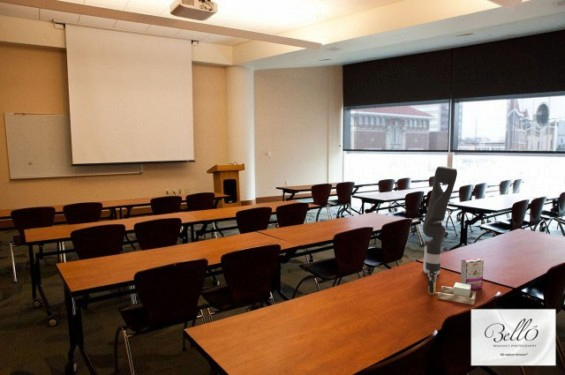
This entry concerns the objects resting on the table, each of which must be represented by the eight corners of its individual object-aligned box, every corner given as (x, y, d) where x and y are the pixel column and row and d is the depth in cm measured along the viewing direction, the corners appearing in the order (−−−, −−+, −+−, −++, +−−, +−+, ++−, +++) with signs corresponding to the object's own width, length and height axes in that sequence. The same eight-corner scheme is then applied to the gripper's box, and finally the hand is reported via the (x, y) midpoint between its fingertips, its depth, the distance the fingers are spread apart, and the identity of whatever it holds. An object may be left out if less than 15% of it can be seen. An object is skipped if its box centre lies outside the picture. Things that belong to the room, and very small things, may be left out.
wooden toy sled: (437, 298, 215) (438, 292, 215) (441, 290, 225) (441, 285, 224) (473, 304, 207) (473, 299, 206) (475, 297, 216) (476, 291, 216)
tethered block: (427, 294, 220) (427, 282, 219) (429, 290, 226) (430, 278, 225) (468, 302, 210) (469, 289, 209) (470, 297, 216) (470, 284, 215)
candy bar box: (476, 285, 233) (477, 257, 231) (482, 288, 228) (484, 260, 226) (459, 287, 230) (461, 259, 228) (465, 290, 225) (467, 262, 223)
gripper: (438, 265, 212) (436, 297, 214) (442, 258, 224) (441, 288, 226) (423, 263, 215) (422, 294, 218) (428, 256, 228) (427, 286, 230)
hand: (431, 291), depth 222 cm, fingers closed on tethered block, 3 cm apart
